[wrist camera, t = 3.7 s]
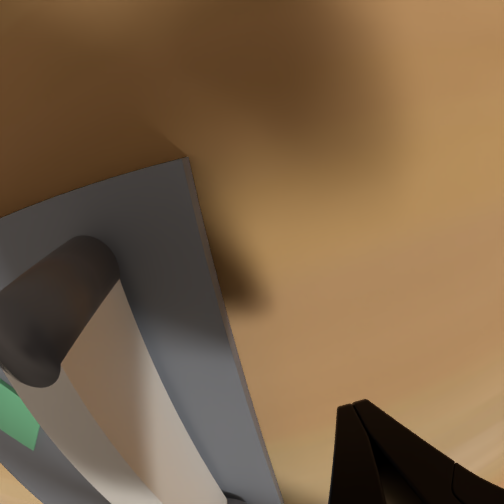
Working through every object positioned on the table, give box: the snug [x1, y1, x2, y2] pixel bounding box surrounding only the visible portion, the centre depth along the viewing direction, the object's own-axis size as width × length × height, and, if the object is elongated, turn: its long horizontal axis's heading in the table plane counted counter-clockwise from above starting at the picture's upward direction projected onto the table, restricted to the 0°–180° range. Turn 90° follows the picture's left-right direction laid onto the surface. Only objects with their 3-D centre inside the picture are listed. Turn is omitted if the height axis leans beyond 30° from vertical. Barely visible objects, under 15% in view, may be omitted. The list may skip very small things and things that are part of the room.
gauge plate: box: [0, 157, 284, 504], centre depth 11 cm, size 18×16×1 cm
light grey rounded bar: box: [0, 235, 247, 504], centre depth 8 cm, size 16×3×4 cm, turn 11°
